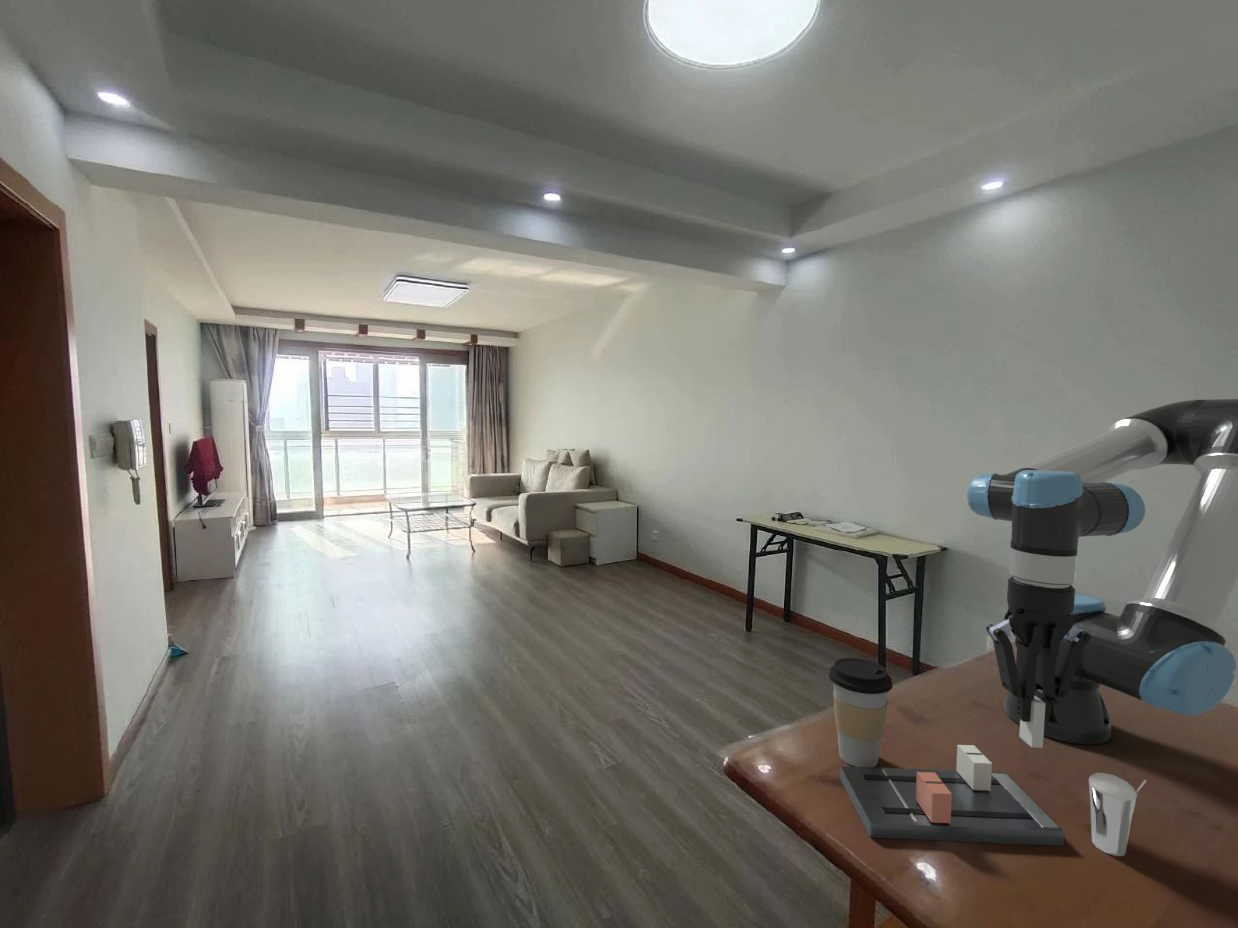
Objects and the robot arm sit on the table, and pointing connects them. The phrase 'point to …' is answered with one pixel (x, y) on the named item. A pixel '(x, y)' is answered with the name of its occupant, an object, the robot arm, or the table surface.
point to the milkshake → (1111, 812)
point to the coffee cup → (860, 708)
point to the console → (974, 813)
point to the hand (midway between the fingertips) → (1030, 741)
